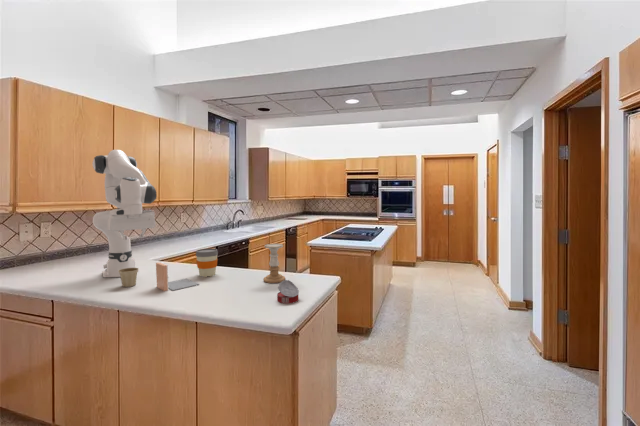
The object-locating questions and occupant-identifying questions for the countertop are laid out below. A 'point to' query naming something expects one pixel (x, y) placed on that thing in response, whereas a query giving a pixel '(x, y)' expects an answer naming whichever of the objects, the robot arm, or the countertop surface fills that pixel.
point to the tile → (162, 276)
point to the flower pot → (128, 276)
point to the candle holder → (274, 265)
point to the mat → (181, 284)
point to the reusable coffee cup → (207, 261)
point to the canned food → (287, 292)
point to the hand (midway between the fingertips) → (133, 238)
